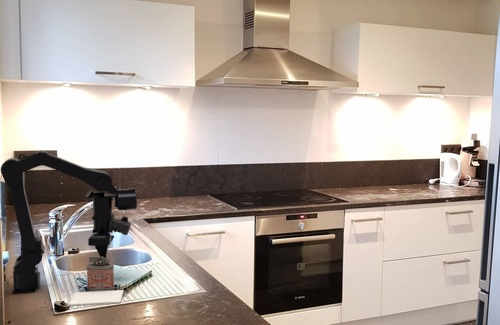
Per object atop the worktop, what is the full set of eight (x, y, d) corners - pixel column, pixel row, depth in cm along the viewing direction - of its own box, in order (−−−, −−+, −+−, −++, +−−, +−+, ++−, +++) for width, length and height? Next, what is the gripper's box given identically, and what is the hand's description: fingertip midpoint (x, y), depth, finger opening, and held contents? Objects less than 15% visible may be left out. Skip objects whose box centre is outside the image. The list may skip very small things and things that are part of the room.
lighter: (115, 287, 148) (114, 255, 147) (112, 291, 145) (112, 258, 143) (88, 287, 148) (87, 255, 147) (85, 291, 144) (84, 258, 143)
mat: (67, 306, 133) (67, 304, 133) (74, 294, 142) (74, 292, 142) (120, 303, 135) (120, 301, 135) (123, 291, 144) (123, 289, 144)
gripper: (126, 217, 144) (127, 268, 145) (131, 205, 162) (132, 250, 164) (87, 218, 142) (88, 270, 144) (97, 206, 160) (98, 252, 162)
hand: (104, 260), depth 153 cm, fingers closed
